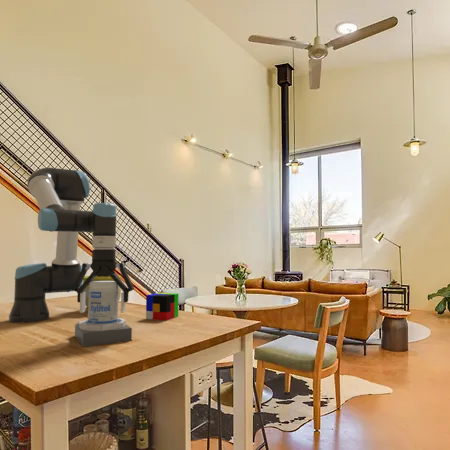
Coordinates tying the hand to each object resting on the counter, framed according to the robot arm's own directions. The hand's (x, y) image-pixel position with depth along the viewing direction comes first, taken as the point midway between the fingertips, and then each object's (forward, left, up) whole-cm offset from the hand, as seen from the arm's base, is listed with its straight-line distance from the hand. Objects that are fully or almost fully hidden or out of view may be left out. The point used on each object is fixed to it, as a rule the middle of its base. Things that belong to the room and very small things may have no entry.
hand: (102, 312), depth 125 cm
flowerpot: (-57, +12, -9) cm, 59 cm away
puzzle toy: (-25, +31, -9) cm, 40 cm away
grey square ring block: (0, 0, -8) cm, 9 cm away
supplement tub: (0, 0, -5) cm, 5 cm away
